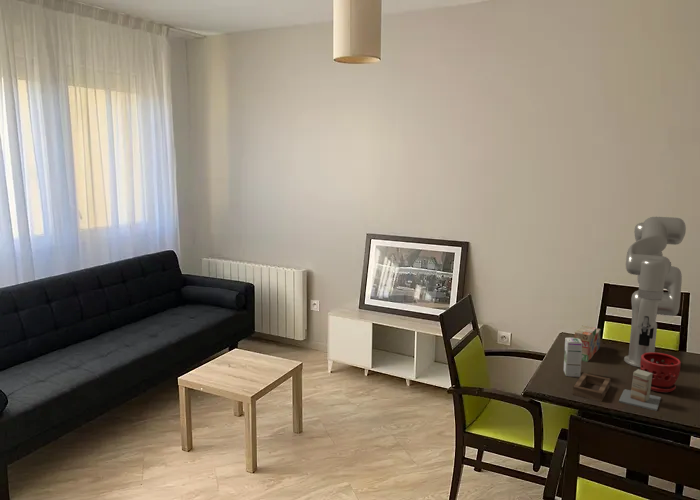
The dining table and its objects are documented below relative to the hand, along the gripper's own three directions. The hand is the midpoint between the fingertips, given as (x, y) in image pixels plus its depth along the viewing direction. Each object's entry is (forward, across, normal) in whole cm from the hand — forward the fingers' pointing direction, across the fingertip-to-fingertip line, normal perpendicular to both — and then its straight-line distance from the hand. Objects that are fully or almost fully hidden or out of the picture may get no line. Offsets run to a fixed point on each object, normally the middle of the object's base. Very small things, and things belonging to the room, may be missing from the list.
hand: (645, 341), depth 192 cm
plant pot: (+22, -16, +4) cm, 28 cm away
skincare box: (+22, 0, 0) cm, 22 cm away
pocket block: (+22, +1, -16) cm, 27 cm away
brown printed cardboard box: (+23, -40, -26) cm, 53 cm away
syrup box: (+22, -11, -26) cm, 36 cm away
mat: (+22, 0, 0) cm, 22 cm away
